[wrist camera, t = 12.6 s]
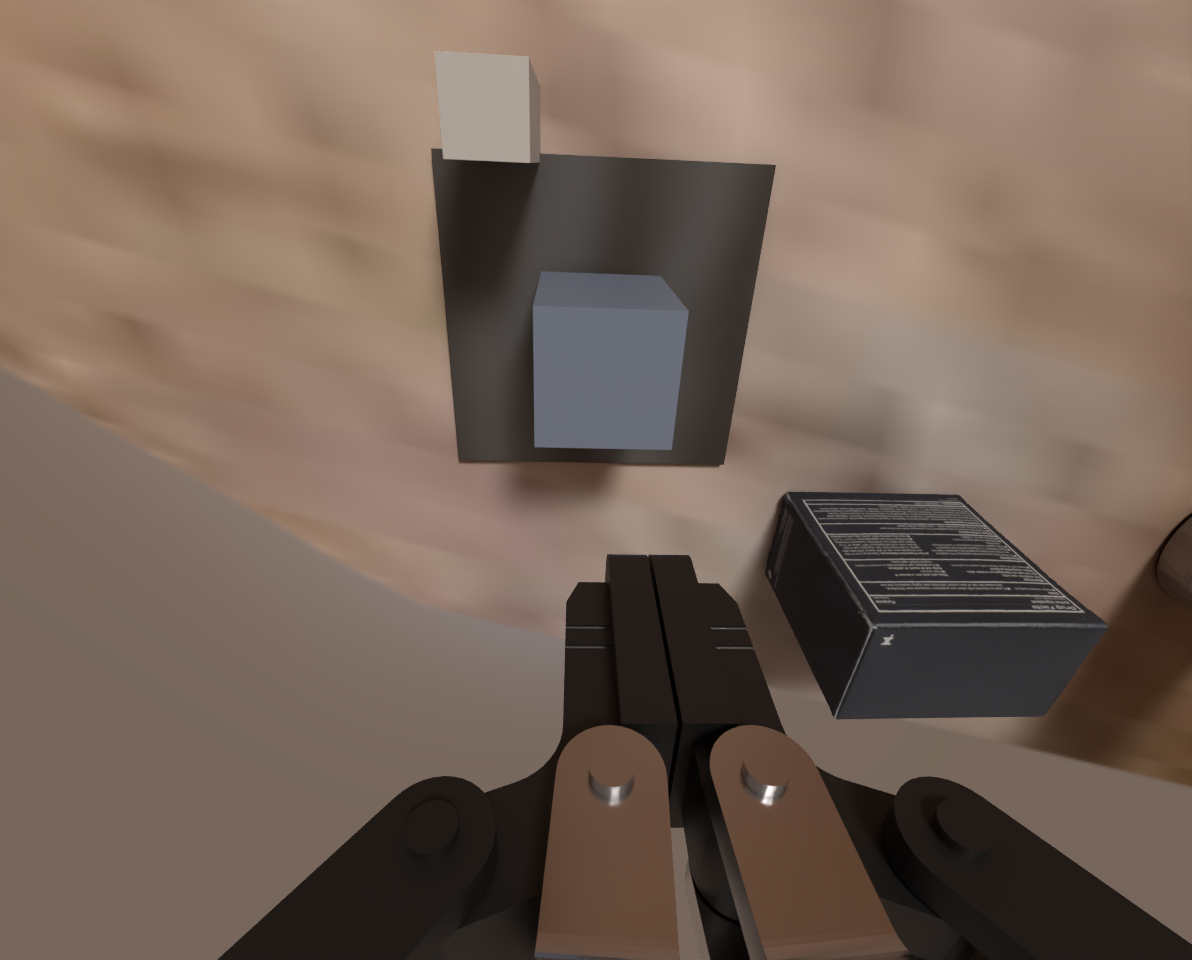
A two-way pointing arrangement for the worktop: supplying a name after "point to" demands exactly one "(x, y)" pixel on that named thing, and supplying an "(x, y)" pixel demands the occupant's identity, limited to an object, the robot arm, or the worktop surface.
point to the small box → (922, 608)
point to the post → (488, 107)
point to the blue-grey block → (606, 361)
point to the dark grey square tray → (605, 246)
